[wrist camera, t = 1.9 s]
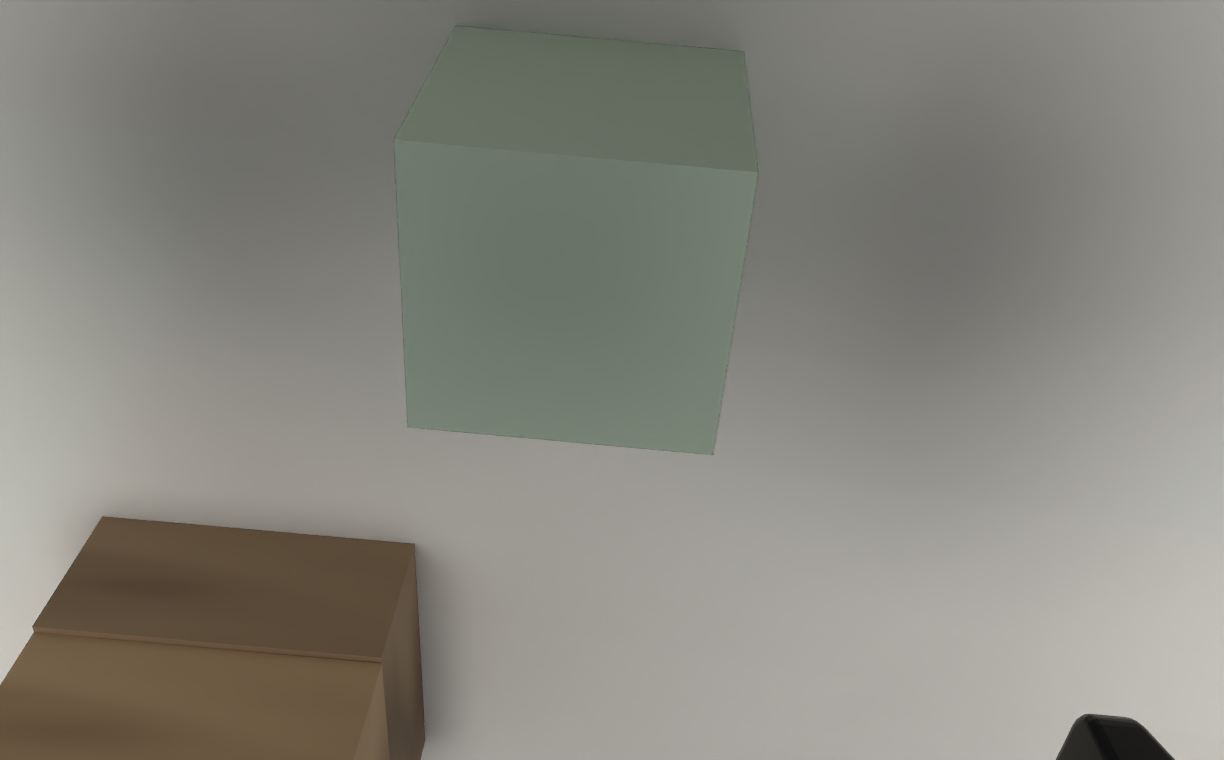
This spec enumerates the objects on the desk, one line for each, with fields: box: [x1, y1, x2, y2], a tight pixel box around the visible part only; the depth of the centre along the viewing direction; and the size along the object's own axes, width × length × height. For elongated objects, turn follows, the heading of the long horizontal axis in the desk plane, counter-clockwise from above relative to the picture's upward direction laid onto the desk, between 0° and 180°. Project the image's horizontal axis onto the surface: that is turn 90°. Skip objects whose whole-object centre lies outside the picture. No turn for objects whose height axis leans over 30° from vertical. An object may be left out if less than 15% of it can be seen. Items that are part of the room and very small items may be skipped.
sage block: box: [394, 26, 758, 455], centre depth 15 cm, size 4×4×4 cm
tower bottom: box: [32, 516, 425, 760], centre depth 22 cm, size 6×6×3 cm
